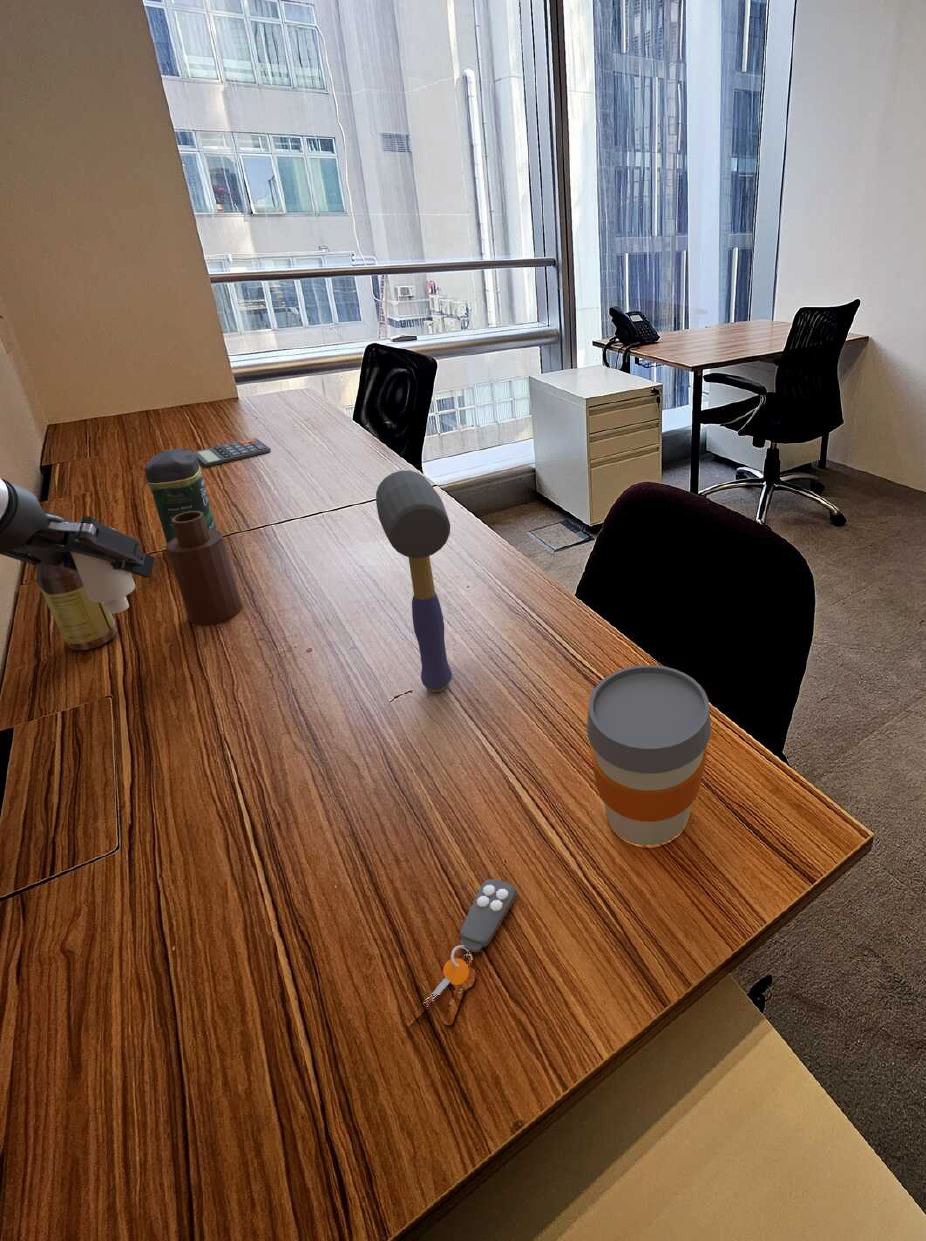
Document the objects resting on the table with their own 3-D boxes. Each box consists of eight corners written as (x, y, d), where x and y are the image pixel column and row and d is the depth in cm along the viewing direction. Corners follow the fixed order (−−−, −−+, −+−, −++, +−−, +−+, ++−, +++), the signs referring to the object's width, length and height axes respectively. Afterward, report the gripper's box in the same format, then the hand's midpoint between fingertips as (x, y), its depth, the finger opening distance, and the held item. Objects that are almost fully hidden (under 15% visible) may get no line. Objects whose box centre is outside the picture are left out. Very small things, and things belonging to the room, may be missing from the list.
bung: (86, 620, 84) (56, 546, 80) (111, 598, 88) (84, 527, 84) (126, 619, 84) (99, 545, 80) (149, 597, 89) (124, 526, 84)
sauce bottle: (89, 627, 104) (43, 511, 96) (129, 628, 104) (86, 512, 96) (54, 654, 98) (1, 532, 90) (96, 655, 98) (47, 533, 90)
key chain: (484, 883, 66) (483, 873, 65) (519, 894, 65) (518, 883, 64) (405, 1028, 54) (403, 1017, 54) (446, 1043, 53) (444, 1032, 53)
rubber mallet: (476, 706, 88) (451, 497, 76) (418, 724, 85) (381, 510, 73) (455, 652, 98) (429, 461, 86) (402, 667, 95) (367, 471, 83)
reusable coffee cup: (724, 846, 69) (732, 734, 63) (605, 878, 66) (602, 764, 60) (682, 756, 80) (686, 654, 74) (579, 780, 77) (574, 675, 71)
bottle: (180, 626, 104) (147, 528, 97) (204, 600, 111) (175, 507, 104) (228, 624, 105) (199, 527, 98) (250, 599, 111) (224, 505, 104)
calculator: (270, 448, 173) (204, 463, 163) (271, 451, 173) (205, 466, 164) (255, 437, 181) (191, 451, 171) (256, 440, 181) (192, 454, 171)
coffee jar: (216, 553, 125) (189, 460, 118) (166, 561, 122) (135, 466, 115) (223, 531, 133) (198, 442, 126) (176, 538, 130) (148, 448, 123)
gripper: (-139, 548, 64) (48, 598, 86) (56, 543, 66) (193, 594, 87) (-112, 475, 67) (64, 542, 89) (76, 472, 68) (204, 539, 90)
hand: (127, 568), depth 88 cm, fingers closed on bung, 5 cm apart
